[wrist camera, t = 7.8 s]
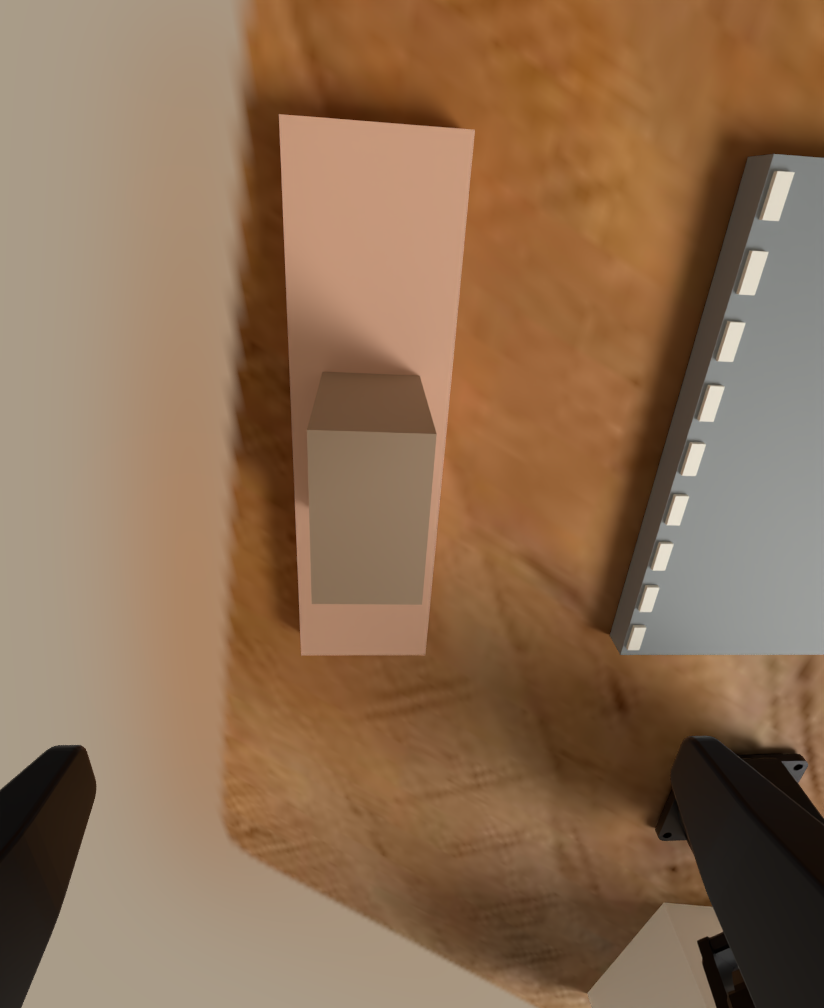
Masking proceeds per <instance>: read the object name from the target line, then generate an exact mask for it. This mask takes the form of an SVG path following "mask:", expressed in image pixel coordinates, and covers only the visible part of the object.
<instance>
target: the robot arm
mask: <svg viewBox="0 0 824 1008" xmlns="http://www.w3.org/2000/svg"><path fill="white" fill-rule="evenodd" d="M807 767H808V763H807V762H806V760H805V759H804V758H803V756H801V755H800V754H776V755H736V754H735V753H734V752H732V751H731V750H730V749H729V748H727V747H726V746H725V745H724V744H722V743H721V742H720V741H719V740H717V739H715V738H714V737H711V736H688V737H686V738H685V739H684V740H683V742H682V744H681V746H680V749H679V751H678V754H677V756H676V759H675V761H674V763H673V766H672V769H671V775H670V776H671V785H672V788H673V789H672V791H671V793H670V796H669V798H668V800H667V803H666V805H665V807H664V810H663V812H662V814H661V817H660V819H659V822H658V824H657V826H656V829H655V831H656V833H657V835H658V838H659V839H660V840H662V841H673V840H687V842H688V844H689V846H690V848H691V850H692V852H693V854H694V856H695V860H696V863H697V866H698V869H699V872H700V875H701V878H702V881H703V883H704V886H705V889H706V892H707V894H708V897H709V899H710V902H711V904H712V907H713V909H714V911H715V914H716V916H717V918H718V921H719V923H720V925H721V928H722V930H723V932H721V933H719V934H717V935H715V936H712V937H710V938H709V937H708V936H706V937H704V938H702V939H699V940H697V944H698V947H699V950H700V953H701V956H702V965H703V968H704V971H705V974H706V977H707V980H708V984H709V987H710V990H711V993H712V996H713V999H714V1002H715V1005H716V1008H824V818H823V817H822V815H821V814H820V813H819V811H818V810H817V809H816V807H815V806H814V805H813V803H812V802H811V800H810V799H809V798H808V796H807V795H806V794H805V792H804V791H803V790H802V788H801V787H800V785H799V784H798V782H799V781H800V779H801V777H802V775H803V774H804V772H805V770H806V769H807ZM95 794H96V780H95V776H94V773H93V770H92V767H91V763H90V760H89V757H88V754H87V751H86V749H85V748H84V747H83V746H81V745H58V746H54V747H51V748H50V749H48V750H46V751H45V752H44V753H43V754H42V755H40V756H39V757H38V758H37V759H36V760H35V761H33V762H32V763H31V764H30V765H29V766H27V767H26V768H25V769H24V770H23V771H22V772H21V773H20V774H18V775H17V776H16V777H15V778H13V779H12V780H11V781H10V782H9V783H8V784H7V785H5V786H4V787H3V788H2V789H1V790H0V1008H21V1007H22V1005H23V1002H24V1000H25V997H26V995H27V992H28V990H29V988H30V985H31V982H32V980H33V978H34V975H35V973H36V971H37V968H38V966H39V963H40V961H41V958H42V956H43V953H44V951H45V949H46V946H47V944H48V942H49V939H50V937H51V934H52V931H53V929H54V926H55V924H56V921H57V918H58V916H59V913H60V910H61V907H62V904H63V901H64V898H65V895H66V891H67V888H68V885H69V881H70V878H71V875H72V872H73V868H74V865H75V861H76V859H77V855H78V852H79V849H80V845H81V842H82V839H83V835H84V832H85V829H86V826H87V822H88V819H89V816H90V813H91V809H92V806H93V803H94V799H95Z"/></svg>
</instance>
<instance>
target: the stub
mask: <svg viewBox="0 0 824 1008" xmlns="http://www.w3.org/2000/svg"><path fill="white" fill-rule="evenodd" d="M279 129H280V153H281V178H282V202H283V226H284V251H285V275H286V299H287V323H288V348H289V372H290V396H291V421H292V445H293V469H294V494H295V518H296V542H297V567H298V591H299V615H300V640H301V655H425V654H426V643H427V632H428V622H429V611H430V600H431V590H432V579H433V569H434V558H435V547H436V537H437V526H438V516H439V505H440V494H441V484H442V473H443V462H444V452H445V441H446V431H447V420H448V409H449V399H450V388H451V378H452V367H453V356H454V346H455V335H456V325H457V314H458V303H459V293H460V282H461V271H462V261H463V250H464V240H465V229H466V218H467V208H468V197H469V187H470V176H471V165H472V155H473V144H474V133H475V130H470V129H458V128H445V127H433V126H420V125H408V124H395V123H383V122H371V121H358V120H346V119H333V118H321V117H308V116H296V115H283V114H279Z"/></svg>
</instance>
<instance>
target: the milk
mask: <svg viewBox="0 0 824 1008" xmlns="http://www.w3.org/2000/svg"><path fill="white" fill-rule="evenodd" d="M721 932H723V930H722V928H721V925H720V923H719V921H718V918H717V916H716V914H715V911H714V909H713V907H709V906H697V905H686V904H675V903H663V904H662V905H661V906H660V907H659V909H658V910H657V911H656V912H655V913H654V915H653V916H652V917H651V918H650V919H649V921H648V922H647V923H646V924H645V925H644V926H643V928H642V929H641V930H640V931H639V932H638V934H637V935H636V936H635V937H634V938H633V940H632V941H631V942H630V943H629V944H628V945H627V947H626V948H625V949H624V950H623V951H622V953H621V954H620V955H619V956H618V957H617V959H616V960H615V961H614V962H613V963H612V964H611V966H610V967H609V968H608V969H607V970H606V972H605V973H604V974H603V975H602V976H601V978H600V979H599V980H598V981H597V982H596V983H595V985H594V986H593V987H592V988H591V989H590V991H589V992H588V993H587V994H588V997H589V1000H590V1004H591V1007H592V1008H716V1005H715V1002H714V999H713V996H712V993H711V990H710V987H709V984H708V980H707V977H706V974H705V971H704V968H703V965H702V956H701V953H700V950H699V947H698V944H697V940H699V939H702V938H704V937H706V936H708V937H709V938H710V937H712V936H715V935H717V934H719V933H721Z"/></svg>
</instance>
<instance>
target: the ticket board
mask: <svg viewBox="0 0 824 1008" xmlns="http://www.w3.org/2000/svg"><path fill="white" fill-rule="evenodd" d="M610 637H611V639H612V641H613V642H614V644H615V646H616V648H617V650H618V651H619V653H620V655H816V654H824V158H819V157H806V156H794V155H781V154H769V155H760V156H751V157H748V159H747V162H746V166H745V169H744V173H743V176H742V180H741V183H740V187H739V190H738V193H737V197H736V200H735V204H734V207H733V211H732V214H731V218H730V221H729V225H728V228H727V232H726V235H725V238H724V242H723V245H722V249H721V252H720V256H719V259H718V263H717V266H716V270H715V273H714V277H713V280H712V283H711V287H710V290H709V294H708V297H707V301H706V304H705V308H704V311H703V315H702V318H701V322H700V325H699V328H698V332H697V335H696V339H695V342H694V346H693V349H692V353H691V356H690V360H689V363H688V367H687V370H686V373H685V377H684V380H683V384H682V387H681V391H680V394H679V398H678V401H677V405H676V408H675V412H674V415H673V418H672V422H671V425H670V429H669V432H668V436H667V439H666V443H665V446H664V450H663V453H662V456H661V460H660V463H659V467H658V470H657V474H656V477H655V481H654V484H653V488H652V491H651V495H650V498H649V501H648V505H647V508H646V512H645V515H644V519H643V522H642V526H641V529H640V533H639V536H638V540H637V543H636V546H635V550H634V553H633V557H632V560H631V564H630V567H629V571H628V574H627V578H626V581H625V585H624V588H623V591H622V595H621V598H620V602H619V605H618V609H617V612H616V616H615V619H614V623H613V626H612V630H611V633H610Z"/></svg>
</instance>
